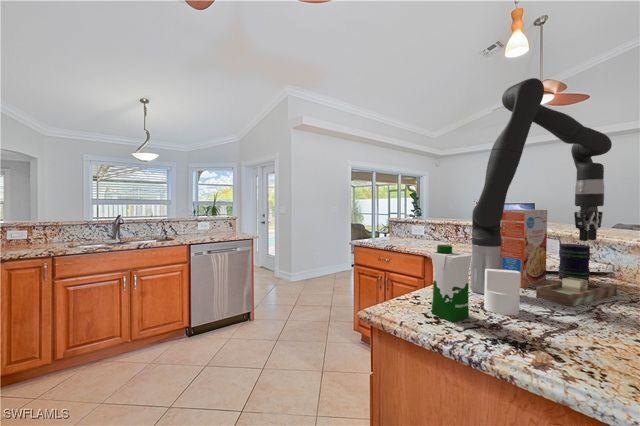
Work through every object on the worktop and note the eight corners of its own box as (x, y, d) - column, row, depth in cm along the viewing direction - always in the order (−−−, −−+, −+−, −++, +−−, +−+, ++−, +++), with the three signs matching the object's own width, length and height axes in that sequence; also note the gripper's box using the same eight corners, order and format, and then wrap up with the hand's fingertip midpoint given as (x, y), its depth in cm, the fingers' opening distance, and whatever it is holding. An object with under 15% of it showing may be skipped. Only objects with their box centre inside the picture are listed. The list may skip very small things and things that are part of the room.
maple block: (579, 293, 95) (579, 282, 95) (561, 289, 100) (562, 278, 100) (587, 292, 97) (587, 280, 97) (569, 288, 102) (570, 277, 102)
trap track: (571, 306, 89) (571, 295, 89) (536, 297, 98) (536, 287, 98) (616, 294, 101) (616, 284, 101) (581, 287, 110) (581, 278, 110)
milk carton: (446, 308, 88) (447, 243, 87) (474, 318, 80) (475, 247, 79) (426, 313, 83) (427, 245, 83) (453, 324, 75) (454, 250, 75)
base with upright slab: (487, 313, 84) (488, 272, 83) (481, 303, 92) (482, 266, 92) (523, 317, 81) (524, 275, 80) (514, 306, 89) (514, 268, 89)
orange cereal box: (523, 288, 108) (524, 210, 107) (500, 283, 115) (501, 210, 114) (545, 279, 121) (547, 209, 120) (523, 275, 128) (525, 209, 127)
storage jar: (568, 282, 116) (569, 246, 116) (552, 276, 126) (553, 243, 126) (596, 284, 115) (597, 247, 114) (578, 277, 124) (579, 244, 124)
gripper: (592, 192, 95) (590, 242, 95) (613, 193, 101) (611, 240, 101) (565, 193, 101) (564, 240, 102) (586, 193, 107) (585, 238, 108)
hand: (587, 240), depth 102 cm, fingers open, 5 cm apart
